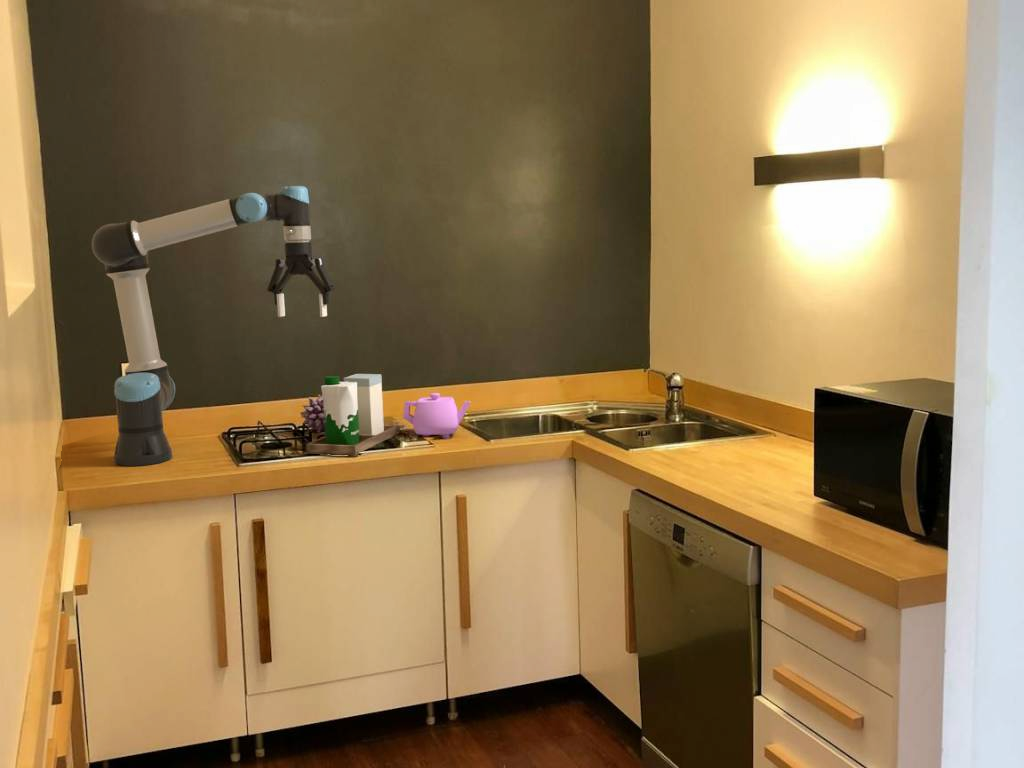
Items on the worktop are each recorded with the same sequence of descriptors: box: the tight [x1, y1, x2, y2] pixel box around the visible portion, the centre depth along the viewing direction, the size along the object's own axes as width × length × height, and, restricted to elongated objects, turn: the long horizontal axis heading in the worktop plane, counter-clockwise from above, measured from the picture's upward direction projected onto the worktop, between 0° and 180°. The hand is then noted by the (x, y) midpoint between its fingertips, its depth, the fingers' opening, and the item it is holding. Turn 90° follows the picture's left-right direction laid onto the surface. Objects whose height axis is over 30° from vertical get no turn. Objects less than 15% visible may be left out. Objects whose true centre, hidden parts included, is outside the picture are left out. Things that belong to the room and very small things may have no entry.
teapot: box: [402, 392, 471, 440], centre depth 311 cm, size 20×12×13 cm, turn 88°
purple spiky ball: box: [300, 394, 325, 434], centre depth 320 cm, size 12×12×12 cm
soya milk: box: [320, 375, 359, 445], centre depth 295 cm, size 9×9×20 cm
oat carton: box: [343, 373, 385, 435], centre depth 308 cm, size 8×8×18 cm
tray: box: [305, 424, 401, 458], centre depth 303 cm, size 15×29×3 cm, turn 162°
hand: (302, 316), depth 303 cm, fingers open, 13 cm apart
